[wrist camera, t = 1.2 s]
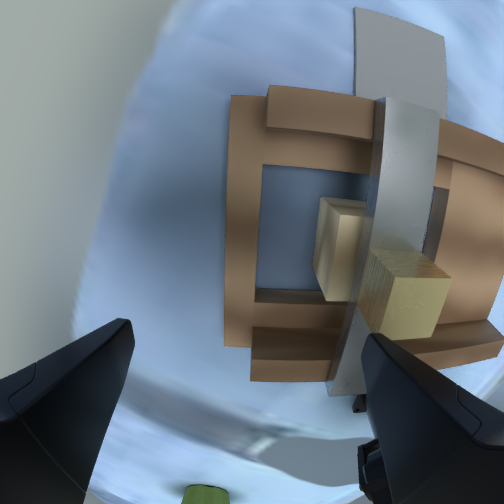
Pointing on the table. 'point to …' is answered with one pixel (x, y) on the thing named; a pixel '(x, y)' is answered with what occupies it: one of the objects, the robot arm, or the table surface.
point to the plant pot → (205, 495)
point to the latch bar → (393, 243)
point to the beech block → (337, 245)
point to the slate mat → (399, 61)
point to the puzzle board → (359, 161)
